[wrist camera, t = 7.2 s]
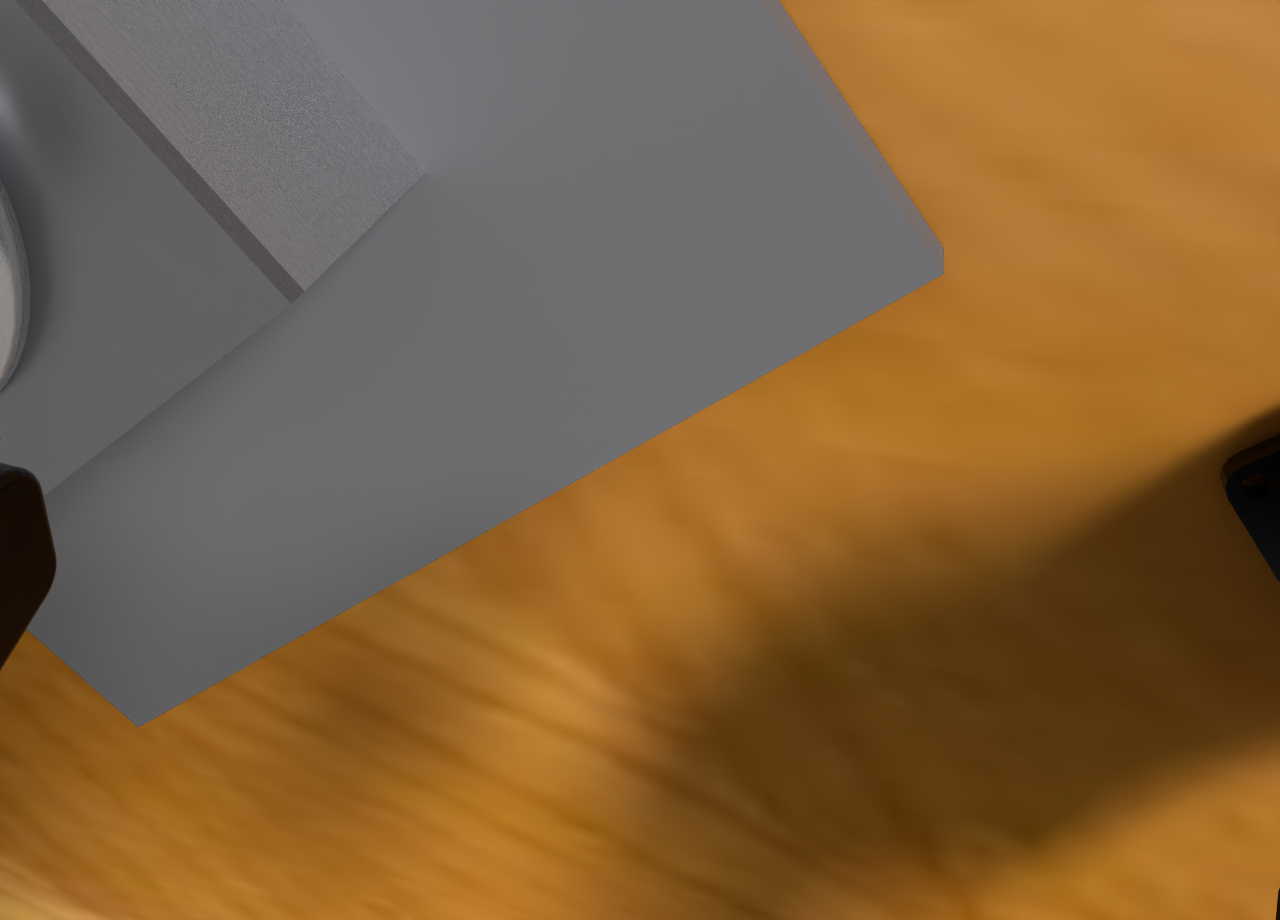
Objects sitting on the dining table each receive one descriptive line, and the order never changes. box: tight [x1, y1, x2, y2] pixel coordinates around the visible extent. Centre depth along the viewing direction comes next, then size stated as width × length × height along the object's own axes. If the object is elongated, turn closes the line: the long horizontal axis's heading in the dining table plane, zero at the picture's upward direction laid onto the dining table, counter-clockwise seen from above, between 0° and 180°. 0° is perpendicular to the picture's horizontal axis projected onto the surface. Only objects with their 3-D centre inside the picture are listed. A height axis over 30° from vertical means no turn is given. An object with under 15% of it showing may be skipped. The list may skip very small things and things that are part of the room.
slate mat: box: [27, 0, 944, 727], centre depth 21 cm, size 22×22×1 cm
